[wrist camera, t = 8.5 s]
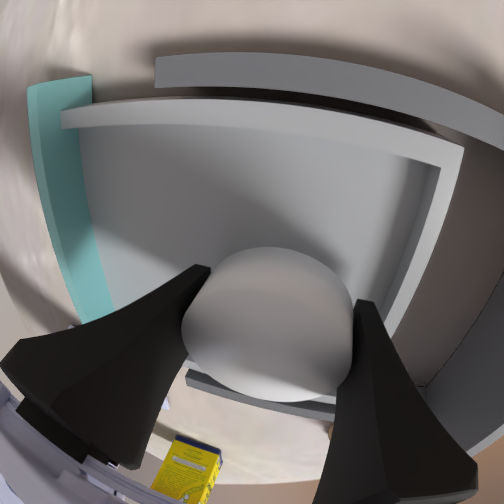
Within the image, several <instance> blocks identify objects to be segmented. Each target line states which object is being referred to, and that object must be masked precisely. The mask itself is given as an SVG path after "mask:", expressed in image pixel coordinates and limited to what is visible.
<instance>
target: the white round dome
mask: <svg viewBox="0 0 504 504" xmlns="http://www.w3.org/2000/svg"><path fill="white" fill-rule="evenodd" d="M181 333H182V338H183V342H184V345H185V347H186V349H187V351H188V353H189V354H190V356H191V357H192V359H193V360H194V361H195V362H196V364H197V365H198V366H199V367H200V368H201V369H202V370H203V371H204V372H206V373H207V374H208V375H209V376H211V377H212V378H213V379H215V380H216V381H218V382H219V383H221V384H223V385H224V386H226V387H228V388H230V389H232V390H234V391H237V392H239V393H242V394H244V395H247V396H251V397H254V398H258V399H263V400H268V401H277V402H297V401H305V400H310V399H314V398H317V397H320V396H323V395H325V394H327V393H329V392H331V391H332V390H334V389H335V388H337V387H338V386H339V385H340V384H341V383H342V382H343V381H344V380H345V378H346V377H347V375H348V373H349V371H350V368H351V363H352V347H353V304H352V300H351V297H350V294H349V292H348V290H347V288H346V287H345V285H344V283H343V282H342V281H341V279H340V278H339V277H338V276H337V275H336V274H335V273H334V272H333V271H332V270H331V269H330V268H328V267H327V266H326V265H324V264H323V263H321V262H320V261H318V260H316V259H314V258H312V257H310V256H308V255H305V254H303V253H300V252H297V251H294V250H290V249H285V248H278V247H257V248H250V249H246V250H242V251H239V252H237V253H234V254H232V255H230V256H229V257H227V258H225V259H224V260H223V261H221V262H220V263H219V264H218V265H217V266H216V267H215V268H214V270H213V271H212V273H211V274H210V276H209V277H208V279H207V280H206V282H205V283H204V285H203V286H202V288H201V290H200V291H199V293H198V294H197V296H196V297H195V299H194V300H193V302H192V303H191V305H190V307H189V308H188V310H187V311H186V313H185V315H184V317H183V320H182V326H181Z"/></svg>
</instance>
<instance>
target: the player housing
mask: <svg viewBox="0 0 504 504" xmlns="http://www.w3.org/2000/svg"><path fill="white" fill-rule="evenodd" d="M195 86H221V87H249V88H264V89H276V90H286V91H295V92H303V93H310V94H317V95H324V96H330V97H335V98H341V99H346V100H351V101H356V102H361V103H366V104H370V105H374V106H379V107H383V108H387V109H391V110H394V111H398V112H402V113H405V114H409V115H412V116H416V117H419V118H422V119H425V120H428V121H431V122H434V123H437V124H440V125H443V126H446V127H449V128H451V129H454V130H457V131H459V132H462V133H465V134H467V135H470V136H472V137H474V138H477V139H479V140H482V141H484V142H486V143H488V144H491V145H493V146H495V147H497V148H499V149H501V150H503V151H504V115H503V114H501V113H499V112H497V111H495V110H493V109H491V108H489V107H487V106H485V105H483V104H480V103H478V102H476V101H474V100H471V99H469V98H467V97H464V96H462V95H460V94H457V93H455V92H452V91H449V90H447V89H444V88H441V87H439V86H436V85H433V84H430V83H427V82H424V81H421V80H418V79H415V78H411V77H408V76H405V75H401V74H398V73H394V72H390V71H386V70H382V69H378V68H374V67H369V66H365V65H360V64H355V63H350V62H344V61H338V60H332V59H326V58H319V57H311V56H302V55H292V54H279V53H261V52H211V53H193V54H180V55H170V56H162V57H155V88H168V87H195ZM185 380H186V384H187V386H190V387H193V388H196V389H199V390H202V391H205V392H208V393H211V394H214V395H217V396H220V397H224V398H227V399H231V400H234V401H238V402H241V403H245V404H249V405H253V406H256V407H260V408H265V409H269V410H273V411H277V412H282V413H287V414H291V415H296V416H301V417H307V418H312V419H318V420H324V421H330V422H334V418H335V407H336V404H330V403H324V402H318V401H313V400H305V401H297V402H277V401H268V400H263V399H258V398H254V397H251V396H247V395H244V394H242V393H239V392H237V391H234V390H232V389H230V388H228V387H226V386H224V385H223V384H221V383H219V382H218V381H216V380H215V379H213V378H212V377H211V376H209V375H208V374H205V373H202V372H199V371H196V370H193V369H190V368H189V370H188V372H187V374H186V376H185ZM415 387H416V386H415ZM416 388H417V390H418V391H419V393H420V395H421V396H422V398H423V399H424V401H425V402H426V404H427V405H428V407H429V408H430V409H431V411H432V412H433V414H434V415H435V416H436V418H437V419H438V420H439V422H440V423H441V424H442V426H443V427H444V428H445V429H446V431H447V432H448V433H449V434H450V435H451V436H452V438H453V439H454V440H455V441H456V442H457V443H458V445H459V446H460V447H461V448H462V449H463V450H464V451H465V452H466V453H467V454H468V455H469V456H470V457H473V456H474V455H476V454H477V453H479V452H480V451H482V450H483V449H485V448H486V447H488V446H489V445H490V444H492V443H493V442H495V441H496V440H497V439H499V438H500V437H502V436H503V435H504V273H503V275H502V277H501V279H500V280H499V282H498V284H497V286H496V288H495V290H494V292H493V293H492V295H491V297H490V299H489V300H488V302H487V304H486V305H485V307H484V309H483V310H482V312H481V314H480V315H479V317H478V318H477V320H476V322H475V323H474V325H473V326H472V328H471V329H470V331H469V332H468V334H467V335H466V336H465V338H464V339H463V341H462V342H461V344H460V345H459V346H458V348H457V349H456V350H455V352H454V353H453V355H452V356H451V357H450V358H449V360H448V361H447V362H446V364H445V365H444V366H443V367H442V369H441V370H440V371H439V372H438V374H437V375H436V376H435V377H434V378H433V380H432V381H431V382H430V383H429V384H428V386H427V387H416Z"/></svg>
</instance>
